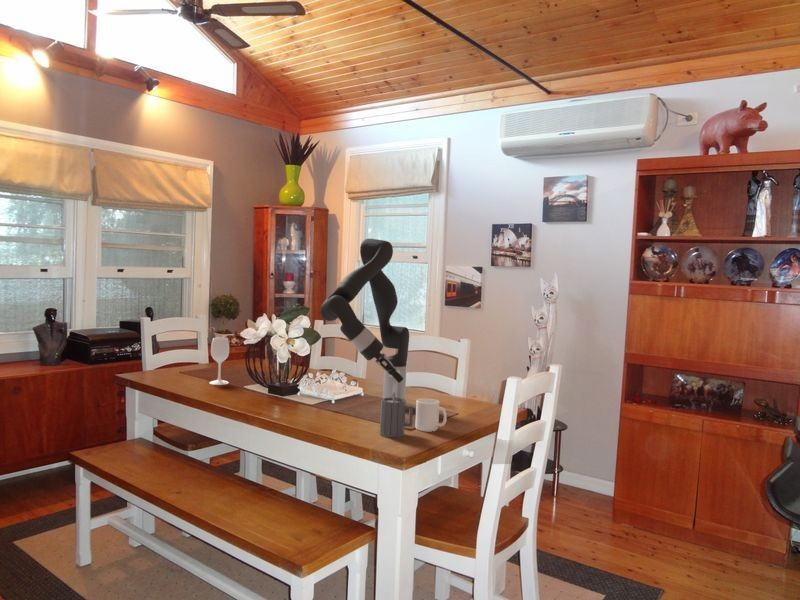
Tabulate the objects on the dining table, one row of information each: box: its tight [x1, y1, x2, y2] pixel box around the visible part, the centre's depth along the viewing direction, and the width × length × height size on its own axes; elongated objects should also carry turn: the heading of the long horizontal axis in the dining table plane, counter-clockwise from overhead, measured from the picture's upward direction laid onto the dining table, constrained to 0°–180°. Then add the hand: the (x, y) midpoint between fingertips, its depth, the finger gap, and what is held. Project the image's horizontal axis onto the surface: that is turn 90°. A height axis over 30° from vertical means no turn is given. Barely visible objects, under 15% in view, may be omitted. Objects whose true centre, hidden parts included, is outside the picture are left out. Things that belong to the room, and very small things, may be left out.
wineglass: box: [209, 336, 230, 386], centre depth 271 cm, size 9×9×21 cm
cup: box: [414, 398, 448, 433], centre depth 211 cm, size 8×12×10 cm
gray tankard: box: [379, 397, 414, 439], centre depth 203 cm, size 8×11×12 cm
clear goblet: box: [387, 369, 401, 402], centre depth 202 cm, size 5×5×12 cm
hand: (400, 379), depth 202 cm, fingers open, 4 cm apart
